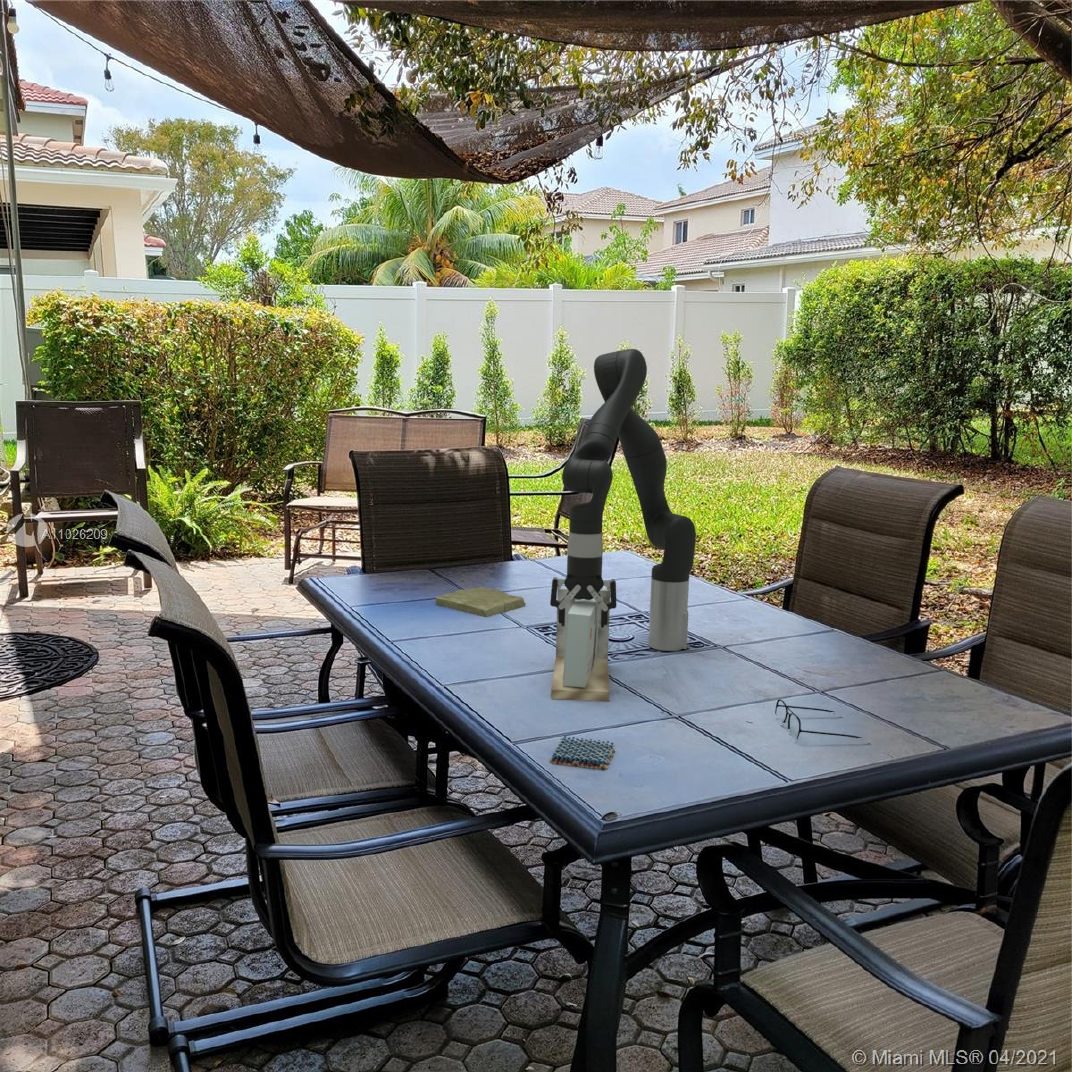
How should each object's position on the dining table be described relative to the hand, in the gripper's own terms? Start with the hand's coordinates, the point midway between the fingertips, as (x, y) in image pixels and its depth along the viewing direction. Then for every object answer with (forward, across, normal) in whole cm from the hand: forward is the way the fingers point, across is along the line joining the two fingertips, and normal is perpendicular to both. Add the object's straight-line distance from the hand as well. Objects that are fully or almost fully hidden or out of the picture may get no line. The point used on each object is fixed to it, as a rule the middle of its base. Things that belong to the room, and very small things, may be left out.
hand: (582, 626), depth 215 cm
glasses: (+13, -47, +23) cm, 54 cm away
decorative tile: (+13, +29, -66) cm, 73 cm away
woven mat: (+13, -1, +41) cm, 44 cm away
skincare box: (+11, 0, 0) cm, 11 cm away
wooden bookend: (+13, 0, -1) cm, 13 cm away
